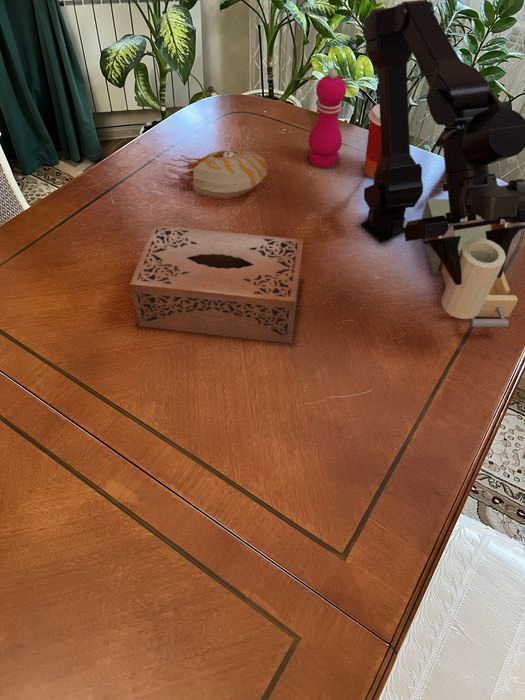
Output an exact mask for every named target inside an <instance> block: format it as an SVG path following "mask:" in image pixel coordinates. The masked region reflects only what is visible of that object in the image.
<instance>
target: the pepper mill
mask: <svg viewBox="0 0 525 700" xmlns="http://www.w3.org/2000/svg"><path fill="white" fill-rule="evenodd" d="M346 94H347V85H346V82H345V80H344V79H343V78H342V77H340V76H338V70H337V69H336V68H331V69H330V70H329V71H328V74H327V75H325V76H323V77H321V78H320V79H319V81H318V83H317V84H316V87H315V95H316V97H317V98H318V99H317V102H316V103H317V104H316V108H317V110H318V117H317V120H316V122H315V124H314V126H313V128H312V129H311V131H310V134H309V136H308V146H309V149H310V150H309V154H308V156H309V157H308V160H309V162H310V163H311V164H312V165H313V166H316V167H319V168H329V167H333V166H334V165H336V164H337V162H338V159H339V158H338V157H339V152H338V151H340V149H341V147H342V143H343V137H342V131H341V129H340V126H339V122H338V117H339V112H340V111H341V110H342V105H343V102H342V101H343V100H344V99H345V97H346Z"/></svg>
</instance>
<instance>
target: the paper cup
mask: <svg viewBox="0 0 525 700" xmlns="http://www.w3.org/2000/svg"><path fill="white" fill-rule="evenodd" d="M367 117H368V118H369V125H368V133H367V142H366V151H365V159H364V168H363V169H364V174H365V175H366V176H367V177H369V178H372V179H374V173H375V171H376V169H377V167H378V165H379V163H380V161H381V159H382V144H381V124H380V105H379V103H377V104H375V105H374V106H373V107H372V108H371V109H370V111H369V112H368V116H367Z"/></svg>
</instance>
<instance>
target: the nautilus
mask: <svg viewBox="0 0 525 700" xmlns="http://www.w3.org/2000/svg"><path fill="white" fill-rule="evenodd" d="M179 156H180V157H182V158H180V157H179V158H178V159H172V158H170V160H171V161H175V162H181V161H182V162H184V163H187V164H186V165H176V164H171V163H167V162H164V164H165V165H169V166H173V167H176V168H179V169H187V170H188V171H187V172H186V171H185V172H182V171H179V170H175V169H172V168H170V167H169V168H168V171H169V172H170V173H172V174H176V175H177V176H179V178H175V177H170V176H167V175H165V177H166V178H168V179H171V180H176V181H178V182H176V184H186V185H187V186H189V187H191V188H193V189H194V191H195V192H196V194H197V195H201V196H204V197H208V198H213V199H220V200H228V199H233V198H237V197H240V196H242V195H244V194H246V193H248V192H251V191H253V190H254V189H255V188H256V187H257V186H258V185H260V183H261V182H262V181H263V180H264V179H265V177H266V176H267V174H268V172H269V169H268V165H267V162H266V159H265V158H264V157H263V156H261V155H260V154H258V153H257V152H254V151H251V150H219V151H214V152H211V153H209V154H207V155H205V156H203V157H198V158H189V157H187V156H184V155H182V154H180V155H179ZM183 176H186V177H187V178H184V177H183ZM186 189H188V187H186V188H184V190H186Z"/></svg>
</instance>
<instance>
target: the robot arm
mask: <svg viewBox="0 0 525 700" xmlns="http://www.w3.org/2000/svg"><path fill="white" fill-rule="evenodd" d="M434 7H435V6H434V3H433V2H432V1H428V0H407V1H402V2H401V3H398V4H397V5H395V6H391V7H383V8H382V7H381V8H374V9H371V11H370V13H369V15H368V16H367V17H366V18H365V19H364V20H363V24H362V36H363V40H364V41H365V46H366V47H365V48H366V54H367V56H368V57H369V59H370V60H371V62H372V63H373V65H374V66H375V68H376V70H377V86H378V102H379V103H378V104H379V105H380V124H381V144H382V159H381V161H380V163H379V165H378V167H377V169H376V171H375V173H374V178H373V184H371V185H369V186H367V187H364V189H363V200H364V202H365V204H366V205H367V207H368V214H367V218H366V220H365V221H362V222H360V227H361V228H362V229H363V230H364V231H366V232H367V233H368V234H369V235H371V237H373V238H374V239H375V240H377V241H378V242H379V243H381V244H385V243H386V242H388V241H389V240H391V239H394V238H396V237H398V236H400V235H402V234H403V233H404V242H411V241H417V240H423V241H422V242H423V245H425V246H426V244H429V245H430V246H431V248H432V249H433V250H434V252H435V253H436V254H437V256H438V257H439V258H440V260H441V261H442V263H443V265H444V266H445V268H446V270H447V271H448V273H449V275H450V276H451V278H452V280H453V281H454V283H455V284H456V285H461V268H460V260H459V253H458V245H459V242H460V238H461V236H455V235H454V230H460V229H466V228H472V227H478V226H485V225H491V230H489V231H485V233H486V239H487V240H490V241H493V242H494V243H496V244H498V245H499V246H500V247H501V248H502V249H503V250H504V252H505V256H506V258H505V261H504V264H503V266H502V268H501V270H500V272H499V274H498V276H497V278H500V277H501V276H502V272H503V273H504V269H505V264H506V261H507V257H508V254H509V250H510V247H511V244H512V242H513V240H514V238H515V237H516V235H517V234H518V233H519V232H520V231H521V230H524V229H525V224H524V225H520V224H521V223H525V178H516V179H510V180H509V182H508V184H506V185H499V184H498V180H497V176H496V173H490V168H489V165H492V164H494V163H498V162H500V161H503V160H506V159H509V158H512V157H515V156H518V155H519V154H520V153H522V152H523V150H524V149H525V118H524V116H523V115H522V114H520V113H519V112H518V111H516V110H514V109H513V102H512V101H511V100H504V101H499V99H498V98H497V96H496V95H495V93H494V92H493V90H492V89H491V87H490V84H489V83H488V80H486V78H485V77H484V75H483V74H481V72H480V71H479V70H478V69H477V68H476V67H474V66H472V65H469V64H468V63H465V62H464V61H462V60H461V59H460V58H459V56H458V54H457V53H456V50H455V48H454V47H453V45H452V44H451V43H452V42H451V41H450V40H449V38H448V36H447V35H446V33H445V31H444V29H443V27H442V25H441V24H440V23H439V22H440V21H438V18H437V17H436V15H435V8H434ZM412 54H413V57H414V59H415V61H416V62H417V65H418V67H419V68H420V70H421V72H422V73H423V76H424V77H425V80H426V82H427V85H428V91H427V94H426V99H425V101H426V104H427V106H428V110H429V113H430V116H431V117H432V119H433V121H434V122H435V124H436V125H438V126H444V128H443V131H442V133H441V135H440V136H439V137H438V138H437V140H436V144H435V145H436V147H437V148H441V147H442V151H443V159H444V169H445V180H446V183H444V184H442V192H443V193H445V192H447V196H448V198H447V199H449V207H450V212H448V213H446V218H445V216H444V215H442V216H435V217H429V218H423V219H421V218H419V219H415V220H410V221H409V220H408V221H407V222H406V223H405V221H406V217H405V215H406V211H407V209H409V208H411V209H413V208H415V207H416V205H417V204H418V203H419V200H420V199H421V197H423V193H424V184H423V175H422V173H423V168H422V165H421V163H416V161H415V160H414V157H412V155H411V147H410V142H411V141H410V119H409V94H408V92H409V90H408V63H409V60H410V58H411V56H412ZM476 215H478V217H481V219H477V220H476ZM465 217H467V220H468V221H464V222H461V221H460V219H465ZM479 221H481V222H479ZM473 222H474V223H473ZM467 223H468V224H467ZM404 224H405V226H404ZM461 224H462V225H461ZM425 238H427V239H428V241H425V240H424V239H425Z"/></svg>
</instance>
